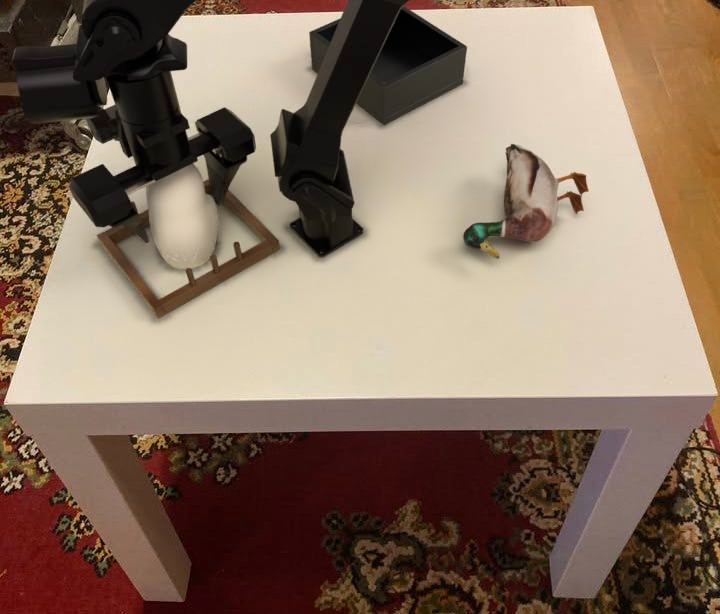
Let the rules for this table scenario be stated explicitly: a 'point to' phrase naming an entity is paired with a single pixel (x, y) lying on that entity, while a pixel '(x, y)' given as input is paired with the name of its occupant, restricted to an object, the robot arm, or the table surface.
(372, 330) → the table surface
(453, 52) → the dark grey open box
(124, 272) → the drying rack
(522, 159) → the decorative duck model
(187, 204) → the figurine
